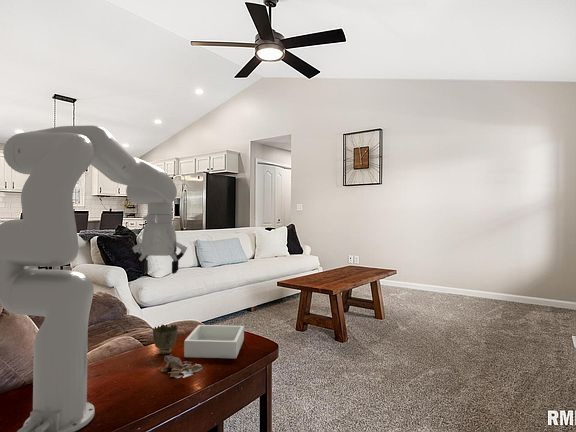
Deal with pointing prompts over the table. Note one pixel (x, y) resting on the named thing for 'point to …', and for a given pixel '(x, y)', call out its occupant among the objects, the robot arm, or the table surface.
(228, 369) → the table surface
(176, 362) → the frog figurine
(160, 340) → the embossed bronze vase
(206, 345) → the bin
